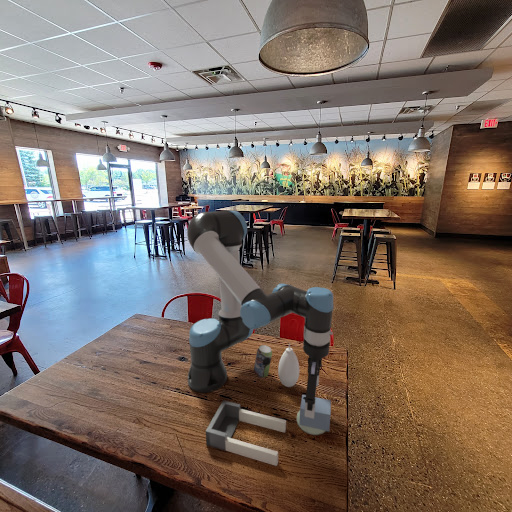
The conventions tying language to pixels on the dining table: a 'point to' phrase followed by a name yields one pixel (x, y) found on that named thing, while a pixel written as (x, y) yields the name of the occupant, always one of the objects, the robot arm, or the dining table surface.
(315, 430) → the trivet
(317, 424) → the painted block
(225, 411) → the bin
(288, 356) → the sauce bottle
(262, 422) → the channel
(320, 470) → the dining table surface
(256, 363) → the beverage can
